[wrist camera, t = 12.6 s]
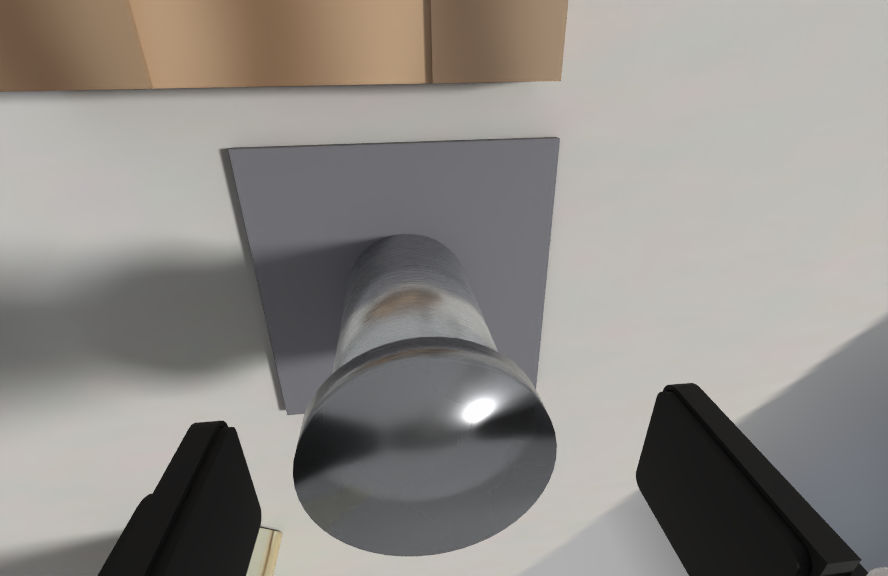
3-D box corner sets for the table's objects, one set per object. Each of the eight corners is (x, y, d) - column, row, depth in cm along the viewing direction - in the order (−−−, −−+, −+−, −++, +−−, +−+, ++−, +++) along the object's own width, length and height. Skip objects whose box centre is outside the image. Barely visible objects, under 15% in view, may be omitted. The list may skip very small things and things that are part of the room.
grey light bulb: (479, 217, 18) (569, 351, 9) (476, 344, 20) (545, 539, 12) (326, 225, 17) (268, 377, 8) (344, 355, 19) (314, 571, 11)
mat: (555, 136, 17) (559, 138, 17) (533, 386, 22) (535, 391, 22) (231, 147, 16) (228, 149, 15) (289, 409, 21) (287, 415, 21)
